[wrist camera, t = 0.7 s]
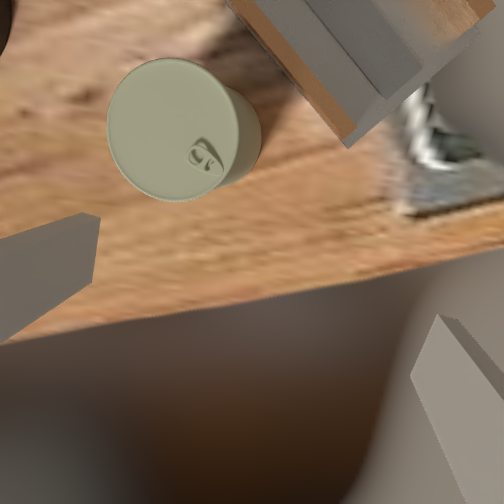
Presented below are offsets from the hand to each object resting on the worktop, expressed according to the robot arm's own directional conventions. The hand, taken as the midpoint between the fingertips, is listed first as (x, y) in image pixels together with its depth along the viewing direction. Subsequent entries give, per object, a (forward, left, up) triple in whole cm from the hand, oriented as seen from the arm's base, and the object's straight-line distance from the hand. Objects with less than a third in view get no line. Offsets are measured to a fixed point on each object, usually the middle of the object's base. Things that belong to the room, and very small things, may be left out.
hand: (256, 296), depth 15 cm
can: (-10, -1, -24) cm, 26 cm away
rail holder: (-9, +14, -24) cm, 29 cm away
